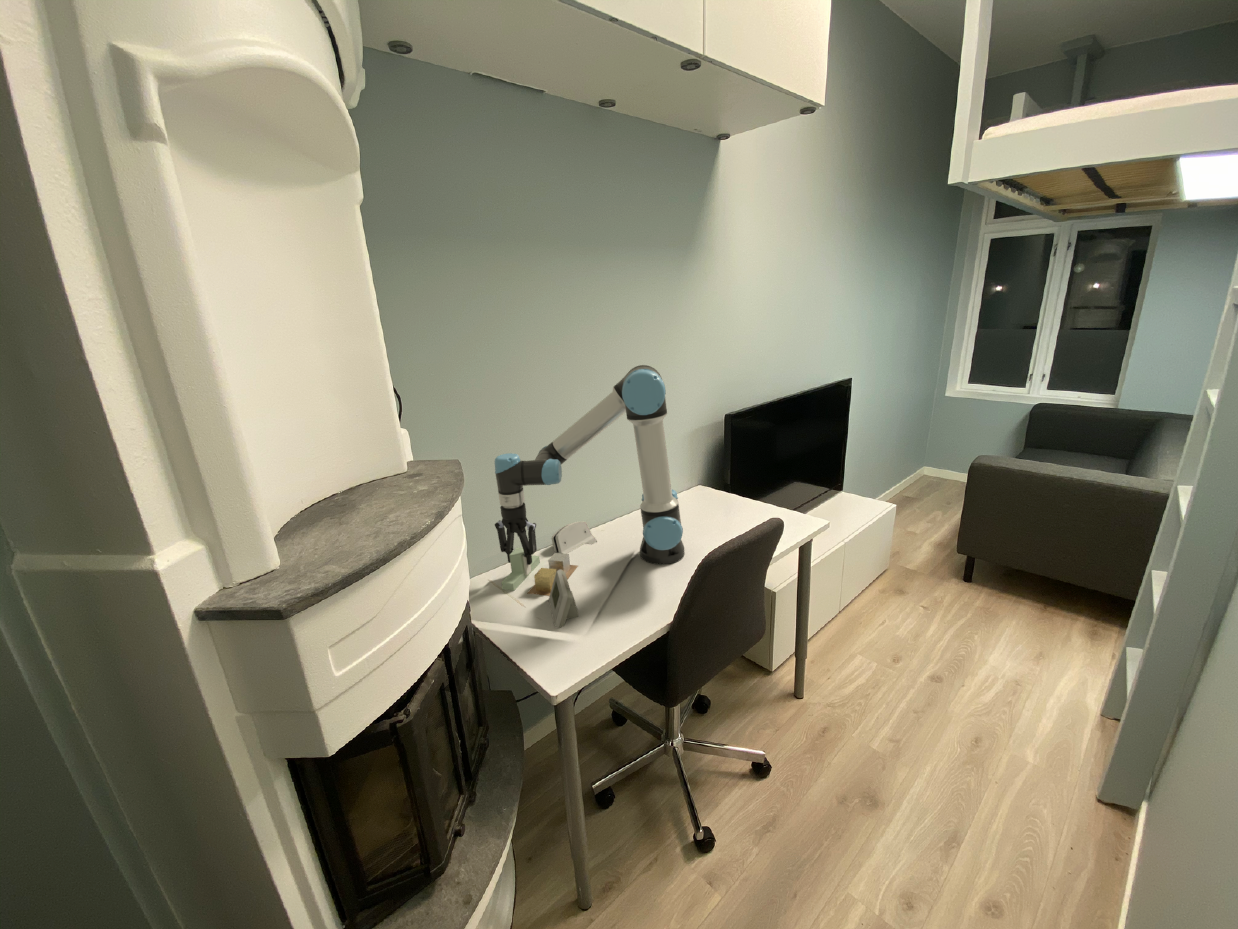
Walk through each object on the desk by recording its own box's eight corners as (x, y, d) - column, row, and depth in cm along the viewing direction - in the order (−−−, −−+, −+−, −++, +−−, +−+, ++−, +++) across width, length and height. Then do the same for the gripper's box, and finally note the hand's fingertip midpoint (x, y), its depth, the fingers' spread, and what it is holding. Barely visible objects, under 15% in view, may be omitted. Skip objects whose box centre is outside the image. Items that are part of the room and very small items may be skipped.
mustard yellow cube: (557, 583, 159) (556, 569, 158) (551, 592, 155) (549, 577, 153) (543, 582, 161) (541, 567, 159) (536, 590, 156) (534, 575, 155)
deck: (578, 569, 170) (578, 565, 170) (555, 601, 153) (554, 596, 152) (553, 567, 173) (553, 563, 172) (527, 597, 156) (527, 593, 155)
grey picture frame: (549, 601, 153) (545, 569, 150) (580, 598, 153) (576, 566, 150) (544, 634, 138) (539, 599, 135) (578, 631, 138) (574, 596, 135)
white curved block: (565, 559, 177) (555, 532, 177) (556, 560, 181) (547, 534, 180) (597, 541, 190) (588, 515, 189) (588, 542, 193) (580, 517, 192)
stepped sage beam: (540, 566, 174) (537, 539, 171) (514, 595, 158) (510, 565, 155) (529, 565, 175) (526, 538, 172) (503, 593, 159) (498, 564, 156)
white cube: (570, 568, 168) (568, 554, 167) (564, 575, 164) (562, 561, 162) (556, 566, 170) (554, 552, 168) (549, 574, 165) (548, 560, 164)
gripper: (481, 507, 158) (491, 575, 165) (532, 510, 153) (540, 580, 159) (494, 498, 164) (503, 564, 171) (543, 501, 159) (550, 569, 166)
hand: (521, 572), depth 165 cm, fingers closed on stepped sage beam, 4 cm apart
